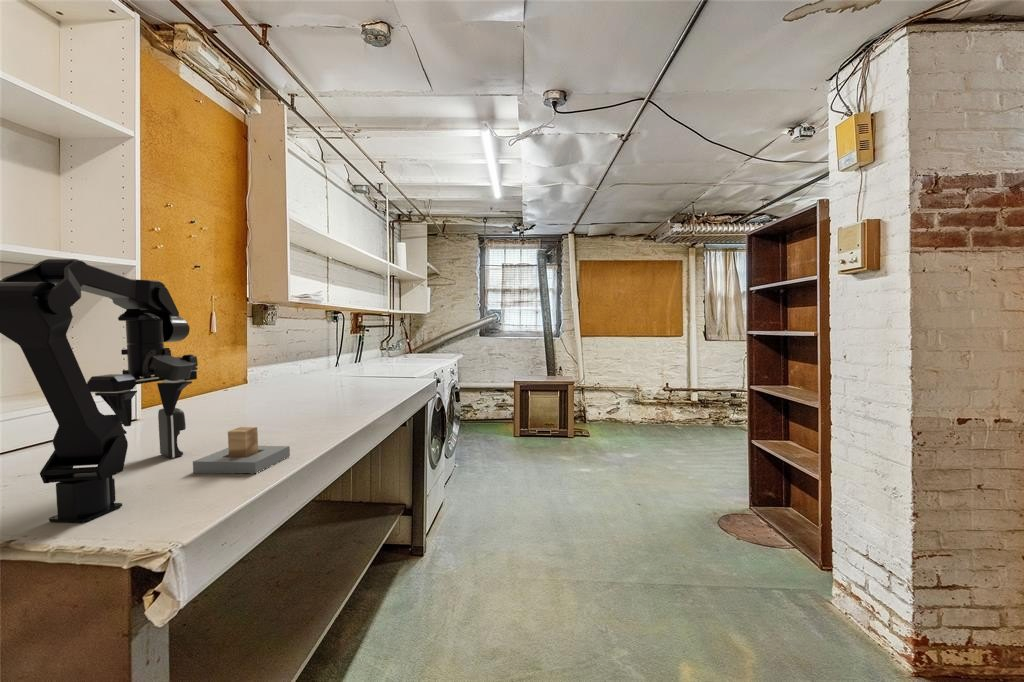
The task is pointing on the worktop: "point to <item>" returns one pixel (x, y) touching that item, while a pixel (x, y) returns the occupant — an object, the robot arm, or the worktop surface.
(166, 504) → the worktop surface
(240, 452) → the wood grain block
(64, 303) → the robot arm
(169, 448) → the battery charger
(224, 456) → the socket plate
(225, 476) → the worktop surface
